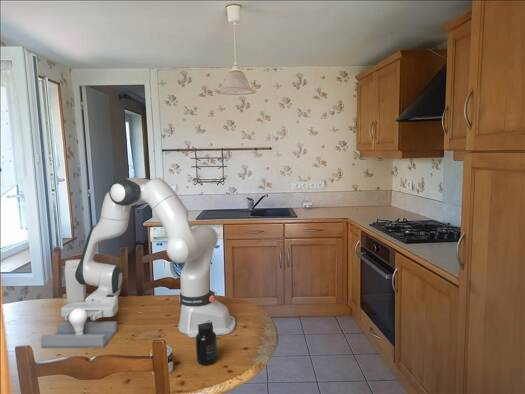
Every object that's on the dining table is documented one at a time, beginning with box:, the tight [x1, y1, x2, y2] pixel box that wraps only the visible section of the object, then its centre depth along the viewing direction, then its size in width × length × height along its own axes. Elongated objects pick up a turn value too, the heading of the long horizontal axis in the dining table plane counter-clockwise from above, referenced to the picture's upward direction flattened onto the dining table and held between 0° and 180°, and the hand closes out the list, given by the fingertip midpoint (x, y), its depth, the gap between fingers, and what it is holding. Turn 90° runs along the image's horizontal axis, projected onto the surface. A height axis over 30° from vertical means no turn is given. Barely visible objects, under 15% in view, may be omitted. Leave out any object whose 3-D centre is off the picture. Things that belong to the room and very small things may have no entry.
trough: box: [40, 321, 118, 349], centre depth 137 cm, size 22×12×4 cm, turn 89°
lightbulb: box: [68, 308, 88, 335], centre depth 136 cm, size 6×6×11 cm
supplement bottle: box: [195, 323, 218, 366], centre depth 122 cm, size 7×7×12 cm
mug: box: [149, 343, 174, 376], centre depth 118 cm, size 10×7×7 cm
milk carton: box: [64, 258, 87, 303], centre depth 174 cm, size 7×7×19 cm
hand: (79, 318), depth 136 cm, fingers open, 8 cm apart
